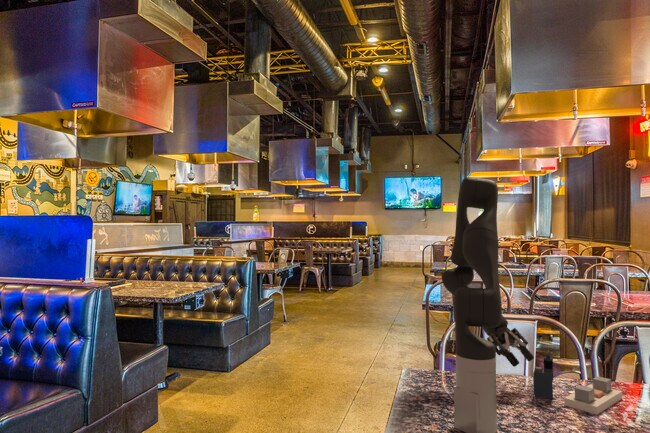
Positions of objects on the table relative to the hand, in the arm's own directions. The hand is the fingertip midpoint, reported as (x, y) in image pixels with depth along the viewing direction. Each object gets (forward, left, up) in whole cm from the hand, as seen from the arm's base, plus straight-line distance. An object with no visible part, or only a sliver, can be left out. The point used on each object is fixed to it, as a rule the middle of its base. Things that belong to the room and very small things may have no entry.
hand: (524, 362), depth 131 cm
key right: (+13, -16, -6) cm, 21 cm away
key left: (+1, -16, -6) cm, 17 cm away
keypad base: (+7, -16, -8) cm, 19 cm away
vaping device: (-1, -6, -9) cm, 10 cm away
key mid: (+7, -16, -8) cm, 19 cm away
